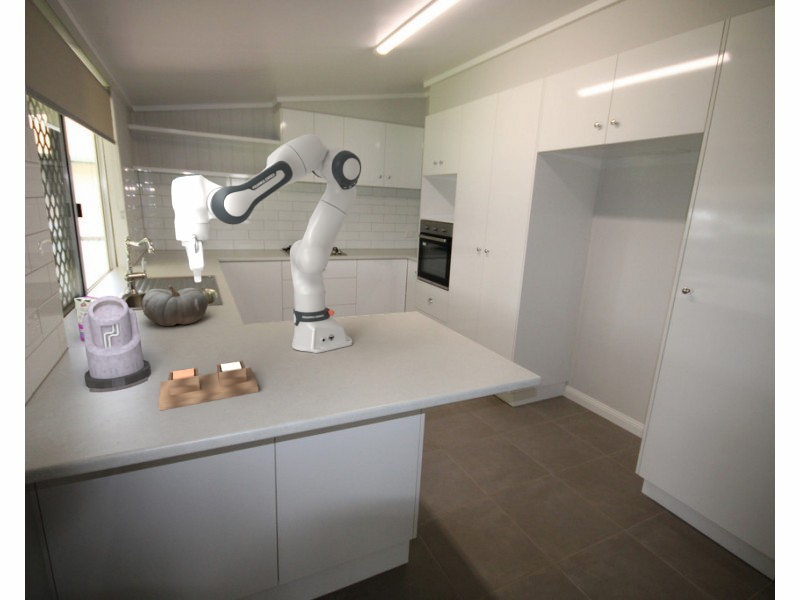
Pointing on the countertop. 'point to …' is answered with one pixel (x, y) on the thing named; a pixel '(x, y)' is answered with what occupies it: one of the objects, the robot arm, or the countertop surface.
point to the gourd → (174, 306)
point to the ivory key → (230, 366)
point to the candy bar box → (82, 310)
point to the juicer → (113, 346)
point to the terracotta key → (183, 374)
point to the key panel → (206, 387)
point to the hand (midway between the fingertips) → (198, 281)
